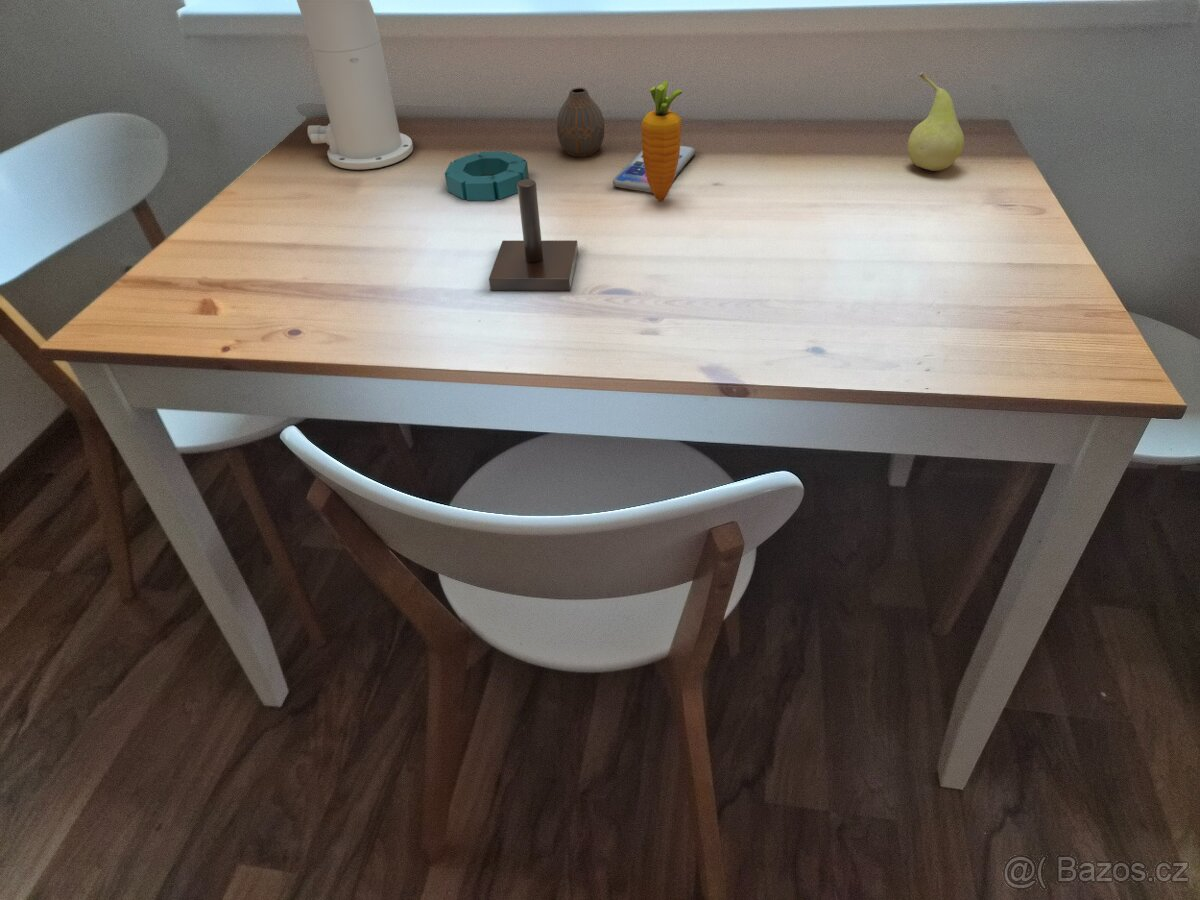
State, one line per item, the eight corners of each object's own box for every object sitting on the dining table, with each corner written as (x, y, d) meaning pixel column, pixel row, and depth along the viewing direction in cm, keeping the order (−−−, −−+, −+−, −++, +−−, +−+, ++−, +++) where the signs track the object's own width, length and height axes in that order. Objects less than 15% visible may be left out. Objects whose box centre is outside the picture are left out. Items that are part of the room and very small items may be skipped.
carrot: (656, 190, 108) (657, 72, 98) (687, 199, 106) (691, 79, 96) (633, 204, 105) (632, 83, 95) (664, 213, 103) (666, 91, 93)
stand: (490, 290, 90) (477, 201, 83) (503, 251, 97) (492, 166, 90) (570, 290, 90) (563, 200, 83) (578, 251, 96) (572, 165, 89)
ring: (441, 201, 108) (438, 183, 107) (458, 168, 116) (455, 151, 115) (520, 200, 107) (519, 183, 106) (532, 167, 116) (530, 151, 114)
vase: (607, 143, 121) (605, 81, 115) (602, 161, 116) (600, 98, 110) (562, 143, 122) (557, 82, 116) (555, 161, 117) (550, 98, 111)
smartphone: (697, 147, 116) (661, 188, 106) (697, 153, 117) (661, 196, 107) (649, 140, 118) (609, 180, 108) (649, 146, 119) (609, 187, 109)
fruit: (949, 183, 106) (973, 88, 98) (892, 172, 109) (911, 79, 101) (962, 164, 110) (986, 72, 102) (907, 155, 113) (926, 64, 105)
